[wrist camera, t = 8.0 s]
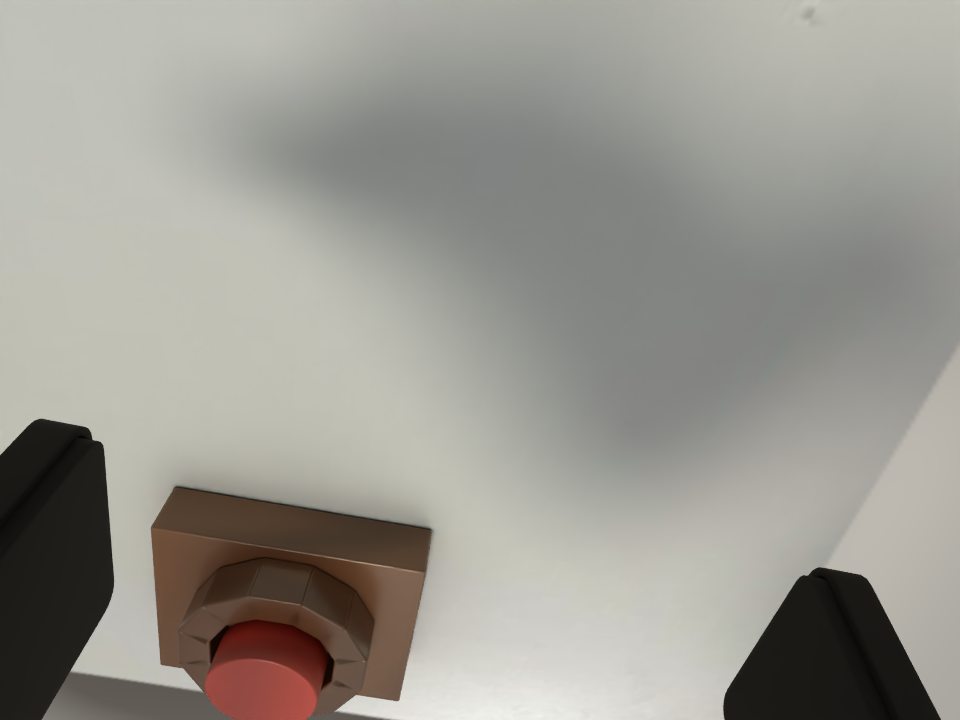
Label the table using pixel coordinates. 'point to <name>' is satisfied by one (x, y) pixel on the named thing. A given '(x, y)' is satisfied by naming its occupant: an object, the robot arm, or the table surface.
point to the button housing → (289, 586)
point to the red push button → (266, 672)
